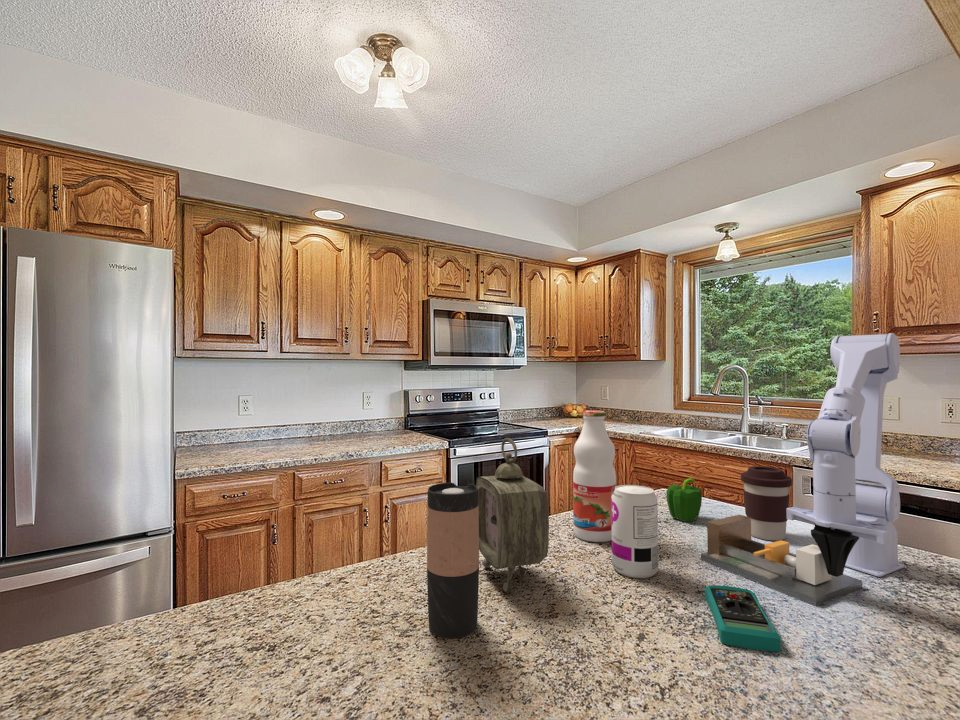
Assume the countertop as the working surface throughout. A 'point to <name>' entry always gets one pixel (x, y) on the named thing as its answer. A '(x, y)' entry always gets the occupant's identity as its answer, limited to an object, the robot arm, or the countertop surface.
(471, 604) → the travel mug
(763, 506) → the coffee cup
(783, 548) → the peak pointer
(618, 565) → the supplement can
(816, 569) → the cream block with peg
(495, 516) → the tabletop clock
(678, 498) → the bell pepper
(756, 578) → the base
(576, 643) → the countertop surface
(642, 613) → the countertop surface
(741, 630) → the digital multimeter
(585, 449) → the fruit juice
